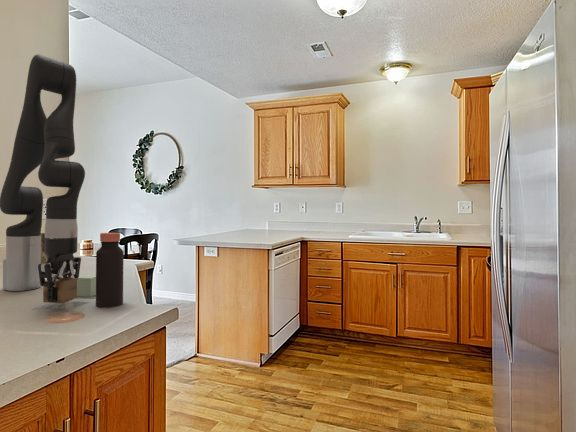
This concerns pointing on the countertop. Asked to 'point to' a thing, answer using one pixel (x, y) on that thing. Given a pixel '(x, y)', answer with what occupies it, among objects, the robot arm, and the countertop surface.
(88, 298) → the code tile
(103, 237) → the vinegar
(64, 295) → the walnut block
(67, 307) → the tile
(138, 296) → the countertop surface
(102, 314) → the countertop surface
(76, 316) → the terracotta coaster
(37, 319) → the countertop surface
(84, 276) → the sage block
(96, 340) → the countertop surface
